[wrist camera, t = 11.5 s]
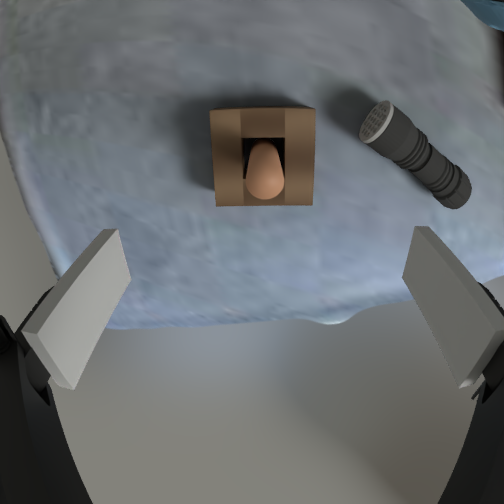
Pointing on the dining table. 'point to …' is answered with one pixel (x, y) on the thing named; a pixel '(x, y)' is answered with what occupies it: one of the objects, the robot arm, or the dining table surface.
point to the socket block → (259, 126)
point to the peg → (264, 170)
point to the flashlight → (414, 154)
